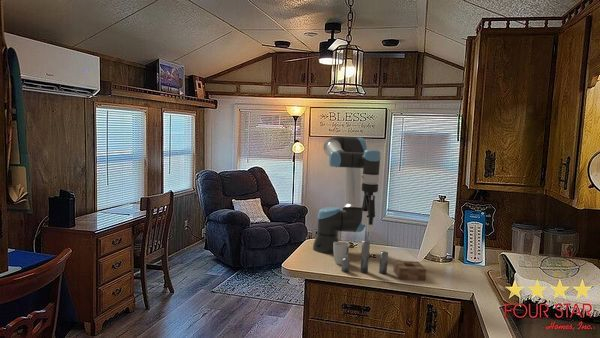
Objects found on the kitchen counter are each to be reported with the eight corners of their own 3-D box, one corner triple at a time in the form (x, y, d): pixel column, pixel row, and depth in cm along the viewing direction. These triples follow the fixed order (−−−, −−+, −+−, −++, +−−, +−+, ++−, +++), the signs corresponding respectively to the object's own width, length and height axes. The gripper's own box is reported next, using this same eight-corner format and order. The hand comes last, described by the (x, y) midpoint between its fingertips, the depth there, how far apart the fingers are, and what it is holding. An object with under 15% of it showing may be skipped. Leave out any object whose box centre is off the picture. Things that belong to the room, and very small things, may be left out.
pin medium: (378, 271, 208) (379, 251, 207) (385, 271, 208) (387, 251, 207) (379, 273, 204) (381, 253, 203) (387, 274, 204) (388, 253, 203)
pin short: (341, 269, 207) (341, 257, 207) (348, 270, 207) (349, 257, 207) (341, 272, 204) (342, 259, 203) (349, 272, 204) (350, 260, 203)
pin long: (359, 270, 207) (361, 240, 206) (367, 270, 208) (369, 240, 206) (360, 273, 204) (363, 241, 203) (368, 273, 204) (370, 242, 203)
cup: (347, 266, 213) (348, 246, 212) (331, 264, 214) (332, 244, 213) (349, 261, 221) (350, 242, 220) (333, 260, 222) (334, 240, 221)
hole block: (393, 270, 210) (394, 260, 210) (417, 271, 210) (418, 261, 210) (399, 279, 198) (400, 268, 198) (425, 280, 198) (426, 269, 198)
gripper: (358, 179, 214) (355, 221, 216) (366, 186, 189) (363, 233, 191) (373, 180, 214) (370, 222, 216) (383, 187, 189) (380, 234, 191)
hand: (367, 227), depth 204 cm, fingers open, 13 cm apart
